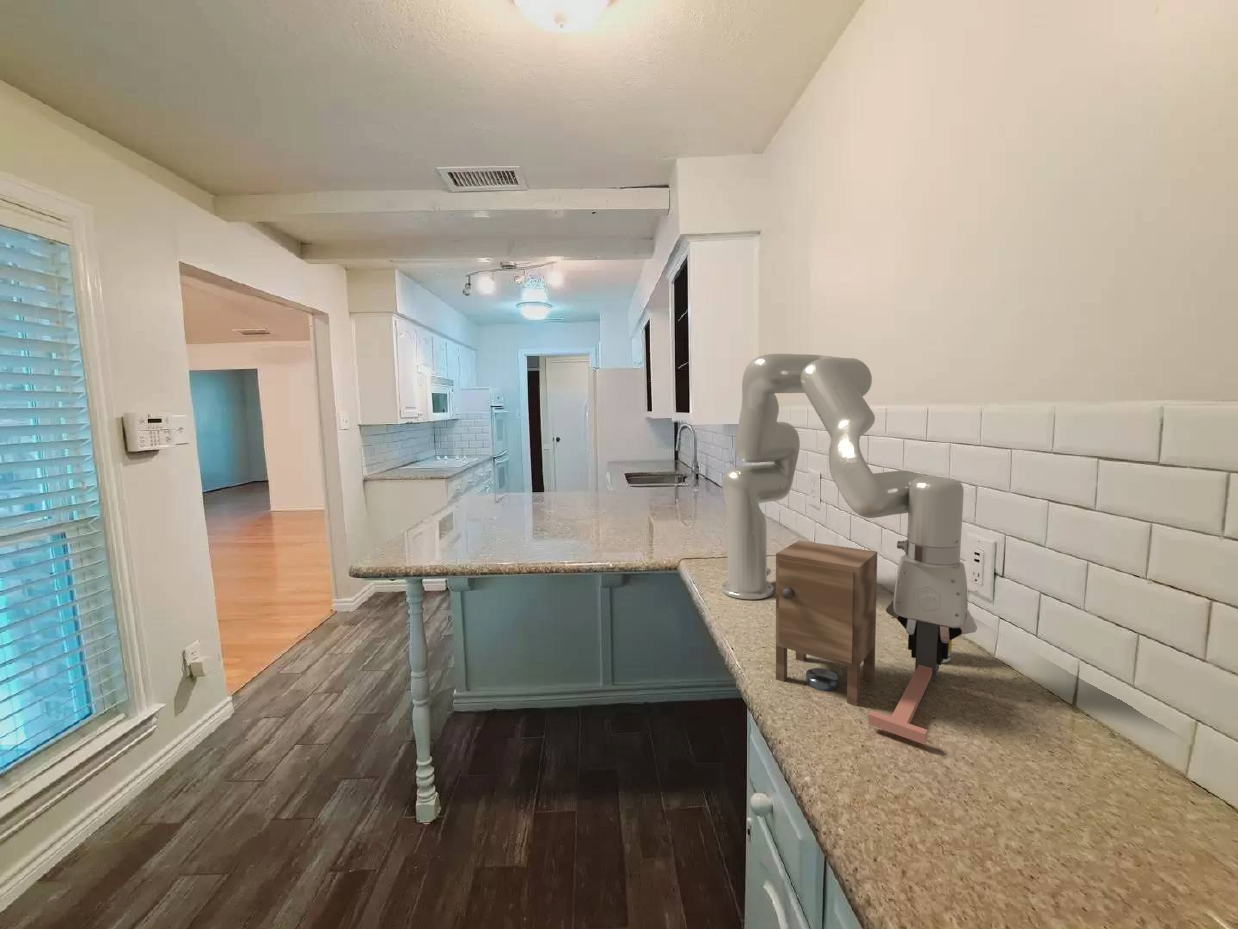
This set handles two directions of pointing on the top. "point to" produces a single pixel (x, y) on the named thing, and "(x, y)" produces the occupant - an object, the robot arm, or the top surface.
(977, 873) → the top surface
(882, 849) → the top surface
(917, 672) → the rake
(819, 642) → the walnut cabinet
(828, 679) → the steel token
